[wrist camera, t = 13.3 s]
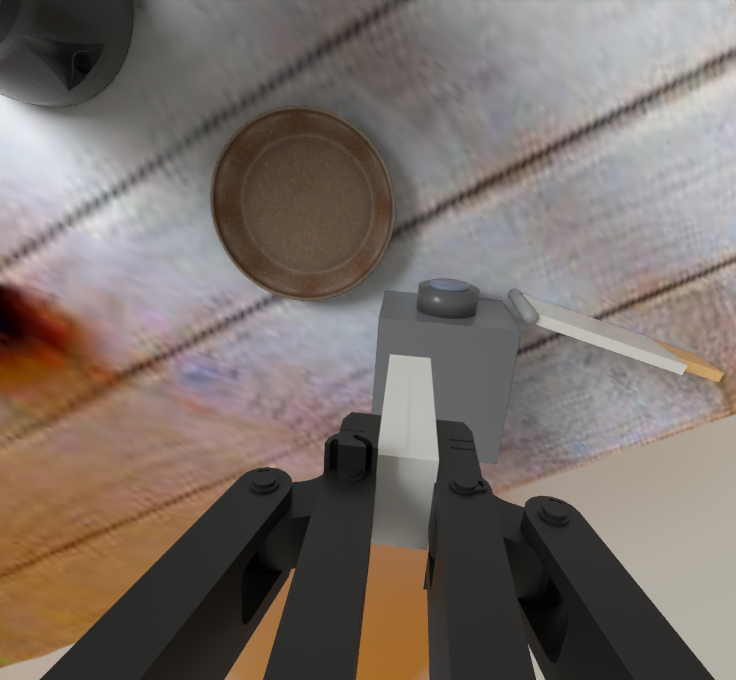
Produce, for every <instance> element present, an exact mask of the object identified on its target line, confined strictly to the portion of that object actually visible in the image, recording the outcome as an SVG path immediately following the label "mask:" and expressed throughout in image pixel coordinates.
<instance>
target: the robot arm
mask: <svg viewBox="0 0 736 680" xmlns="http://www.w3.org/2000/svg"><path fill="white" fill-rule="evenodd" d="M132 25H133V2H132V0H0V94H1V95H3V96H6V97H8V98H11V99H14V100H17V101H21V102H26V103H31V104H37V105H43V106H51V107H63V106H71V105H75V104H79V103H81V102H84V101H86V100H88V99H90V98H92V97H94V96H95V95H97V94H98V93H100V92H101V91H102V90H103V89H104V88H105V87H106V86H107V85H108V84H109V83H110V82H111V81H112V80H113V78H114V77H115V76H116V74H117V73H118V71H119V69H120V67H121V65H122V63H123V61H124V59H125V56H126V54H127V51H128V47H129V44H130V39H131V34H132ZM428 539H429V552H428V559H427V567H426V574H425V582H424V588H423V589H426V590H427V600H428V636H429V676H430V680H536V677H535V673H534V669H533V665H532V660H531V656H530V651H529V647H530V649H531V651H532V653H533V655H534V657H535V659H536V661H537V663H538V665H539V667H540V669H541V671H542V673H543V675H544V678H545V680H714V678H713V677H712V676H711V674H710V673H709V672H708V671H707V669H706V668H705V667H704V666H703V664H702V663H701V662H700V661H699V660H698V658H697V657H696V656H695V655H694V653H693V652H692V651H691V650H690V648H689V647H688V646H687V645H686V643H685V642H684V641H683V640H682V638H681V637H680V636H679V635H678V633H677V632H676V631H675V630H674V629H673V627H672V626H671V625H670V624H669V622H668V621H667V620H666V619H665V617H664V616H663V615H662V614H661V612H660V611H659V610H658V609H657V608H656V606H655V605H654V604H653V603H652V601H651V600H650V599H649V598H648V596H647V595H646V594H645V593H644V592H643V590H642V589H641V588H640V586H639V585H638V584H637V583H636V582H635V580H634V579H633V578H632V577H631V575H630V574H629V573H628V572H627V571H626V570H625V568H624V567H623V565H622V564H621V563H620V562H619V560H618V559H617V558H616V557H615V556H614V554H613V553H612V552H611V551H610V549H609V548H608V547H607V546H606V544H605V543H604V542H603V541H602V540H601V538H600V537H599V536H598V535H597V533H596V532H595V531H594V530H593V528H592V527H591V526H590V525H589V523H588V522H587V521H586V520H585V518H584V517H583V516H582V515H581V514H580V512H578V511H577V510H576V509H575V508H574V507H573V506H571V505H570V504H568V503H566V502H564V501H563V500H560V499H557V498H553V497H549V496H537V497H532V498H530V499H529V500H528V501H526V503H525V507H521V506H518V505H515V504H512V503H509V502H507V501H504V500H502V499H500V498H498V497H497V496H495V495H494V494H493V493H492V489H491V487H490V485H489V483H488V482H487V481H486V480H484V479H483V478H482V475H481V470H480V466H479V461H478V456H477V452H476V447H475V443H474V438H473V433H472V431H471V430H470V429H469V428H468V427H467V425H466V424H465V423H464V422H456V421H446V420H436V418H435V406H434V394H433V382H432V370H431V358H425V357H414V356H403V355H393V354H390V357H389V365H388V373H387V380H386V388H385V396H384V403H383V411H382V415H375V414H365V413H355V412H351V413H350V414H349V415H348V416H347V417H345V418H344V419H343V421H342V425H341V428H340V432H339V433H337V434H334V435H333V436H331V437H329V438H328V439H327V441H326V442H325V454H324V473H323V475H321V476H319V477H318V478H315V479H312V480H308V481H302V482H293V483H292V480H291V477H290V476H289V475H288V474H287V473H286V472H284V471H282V470H280V469H277V468H269V467H266V468H257V469H254V470H251V471H249V472H247V473H245V474H244V475H243V476H241V477H240V478H239V479H238V480H237V481H236V482H235V483H234V484H233V485H232V486H231V487H230V488H229V489H228V490H227V491H226V492H225V493H224V494H223V495H222V496H221V497H220V498H219V499H218V500H217V501H216V502H215V503H214V504H213V505H212V506H211V507H210V508H209V509H208V510H207V511H206V512H205V513H204V514H203V515H202V516H201V517H200V518H199V519H198V520H197V521H196V522H195V523H194V524H193V525H192V526H191V527H190V528H189V529H188V531H187V532H186V533H185V534H184V535H183V536H182V537H181V538H180V539H179V540H178V541H177V542H176V543H175V544H174V545H173V546H172V547H171V548H170V549H169V550H168V551H167V552H166V553H165V554H164V555H163V556H162V557H161V558H160V559H159V560H158V561H157V562H156V563H155V564H154V565H153V566H152V567H151V568H150V569H149V570H148V571H147V572H146V573H145V574H144V575H143V576H142V577H141V578H140V579H139V580H138V581H137V582H136V583H135V584H134V585H133V586H132V587H131V588H130V589H129V590H128V591H127V592H126V593H125V594H124V595H123V596H122V597H121V598H120V599H119V600H118V601H117V602H116V603H115V604H114V605H113V606H112V607H111V608H110V609H109V610H108V611H107V612H106V613H105V614H104V615H103V616H102V617H101V618H100V619H99V620H98V621H97V622H96V623H95V624H94V625H93V626H92V627H91V628H90V629H89V630H88V631H87V632H86V634H85V635H84V636H83V637H82V638H81V639H80V640H79V641H78V642H77V643H76V644H75V645H74V646H73V647H72V648H71V649H70V650H69V651H68V652H67V653H66V654H65V655H64V656H63V657H62V658H61V659H60V660H59V661H58V662H57V663H56V664H55V665H54V666H53V667H52V668H51V669H50V670H49V671H48V672H47V673H46V674H45V675H44V676H43V677H42V678H41V679H40V680H224V679H225V678H226V676H227V674H228V673H229V671H230V669H231V668H232V666H233V665H234V663H235V662H236V660H237V658H238V657H239V655H240V653H241V652H242V650H243V649H244V647H245V646H246V644H247V642H248V641H249V639H250V637H251V636H252V634H253V633H254V631H255V630H256V628H257V626H258V625H259V623H260V622H261V620H262V618H263V617H264V615H265V614H266V612H267V610H268V609H269V607H270V606H271V604H272V602H273V601H274V599H275V598H276V596H277V594H278V593H279V591H280V590H281V588H282V586H283V585H284V583H285V582H286V580H287V578H288V577H289V574H290V571H291V569H293V568H296V569H295V572H294V575H293V579H292V582H291V586H290V589H289V593H288V596H287V599H286V603H285V607H284V610H283V613H282V617H281V620H280V623H279V627H278V630H277V634H276V637H275V641H274V645H273V648H272V651H271V655H270V658H269V661H268V665H267V668H266V672H265V675H264V678H263V680H356V674H357V665H358V656H359V647H360V637H361V628H362V620H363V611H364V602H365V592H366V584H367V575H368V566H369V556H370V544H379V545H388V546H396V547H404V548H413V549H422V550H427V547H428ZM528 645H529V647H528Z"/></svg>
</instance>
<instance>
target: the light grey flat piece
mask: <svg viewBox="0 0 736 680" xmlns="http://www.w3.org/2000/svg"><path fill="white" fill-rule="evenodd" d="M508 298H509V299H510V301H511V302H512V304H513V305H514V306H515V308H516V309H517V311H518V312H519V314H520V315H521V316H522V318H523V319H524V321H525V322H526V323H527V324H529V325H533V324H535V325H538V326H541V327H544V328H547V329H550V330H553V331H555V332H558V333H561V334H564V335H567V336H570V337H573V338H576V339H579V340H582V341H584V342H587V343H590V344H593V345H596V346H599V347H602V348H605V349H608V350H611V351H613V352H616V353H619V354H622V355H625V356H628V357H631V358H634V359H637V360H640V361H642V362H645V363H648V364H651V365H654V366H657V367H660V368H663V369H666V370H668V371H671V372H674V373H677V374H680V375H683V373H684V371H687V372H690V373H693V374H696V375H699V376H701V377H704V378H707V379H710V380H713V381H716V382H719V380H720V379H721V377H722V376H723V374H724V373H723V372H721V371H720V370H718V369H717V368H715V367H714V366H712V365H711V364H709V363H708V362H706V361H705V360H704V359H702V358H701V357H699V356H698V355H696V354H694V353H691V352H688V351H685V350H682V349H679V348H676V347H674V346H671V345H668V344H665V343H662V342H659V341H656V340H653V339H651V338H649V337H646V336H643V335H640V334H637V333H634V332H631V331H629V330H626V329H623V328H620V327H617V326H614V325H611V324H608V323H605V322H603V321H600V320H597V319H594V318H591V317H588V316H585V315H582V314H579V313H577V312H574V311H571V310H568V309H565V308H562V307H559V306H556V305H554V304H551V303H548V302H545V301H542V300H539V299H536V298H533V297H530V296H528V295H525V294H521V293H520V292H519V291H518V290H516V289H512V290H510V291H509V293H508Z"/></svg>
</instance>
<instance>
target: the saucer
mask: <svg viewBox="0 0 736 680" xmlns="http://www.w3.org/2000/svg"><path fill="white" fill-rule="evenodd" d="M210 202H211V212H212V218H213V223H214V227H215V230H216V233H217V235H218V238H219V240H220V242H221V244H222V246H223V248H224V250H225V252H226V253H227V255H228V256H229V258H230V259H231V261H232V262H233V263H234V264H235V266H236V267H237V268H238V269H239V270H240V271H241V272H242V273H243V274H244V275H245V276H246V277H247V278H248V279H250V280H251V281H252V282H254V283H255V284H256V285H258V286H259V287H261V288H263V289H265V290H267V291H268V292H271V293H273V294H275V295H278V296H281V297H284V298H288V299H293V300H302V301H314V300H322V299H327V298H331V297H334V296H337V295H340V294H342V293H345V292H347V291H349V290H351V289H352V288H354V287H356V286H357V285H358V284H360V283H361V282H362V281H363V280H365V279H366V278H367V277H368V276H369V275H370V274H371V272H372V271H373V270H374V269H375V268H376V266H377V265H378V264H379V262H380V261H381V259H382V257H383V256H384V254H385V252H386V250H387V248H388V245H389V242H390V240H391V237H392V233H393V228H394V222H395V196H394V190H393V185H392V182H391V178H390V175H389V172H388V169H387V167H386V165H385V163H384V161H383V159H382V157H381V155H380V154H379V152H378V150H377V149H376V147H375V146H374V145H373V143H372V142H371V141H370V140H369V139H368V138H367V137H366V136H365V135H364V134H363V133H362V132H361V131H360V130H359V129H358V128H357V127H355V126H354V125H353V124H351V123H350V122H348V121H347V120H345V119H343V118H342V117H340V116H338V115H336V114H334V113H331V112H329V111H326V110H323V109H319V108H314V107H307V106H290V107H282V108H278V109H274V110H271V111H268V112H265V113H263V114H261V115H259V116H257V117H255V118H253V119H252V120H250V121H249V122H247V123H246V124H245V125H244V126H243V127H241V128H240V129H239V130H238V131H237V132H236V133H235V134H234V135H233V136H232V138H231V139H230V140H229V141H228V143H227V144H226V146H225V147H224V149H223V151H222V152H221V154H220V156H219V158H218V161H217V163H216V166H215V169H214V173H213V177H212V183H211V195H210Z"/></svg>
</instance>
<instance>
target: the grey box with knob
mask: <svg viewBox="0 0 736 680" xmlns="http://www.w3.org/2000/svg"><path fill="white" fill-rule="evenodd" d="M479 291H480V290H479V289H478V288H477V287H475V286H473V285H470V284H468V283H466V282H463V281H459V280H453V279H433V280H428V281H423V282H421V283H419V289H418V293H406V292H395V291H385V295H384V299H383V303H382V308H381V312H380V316H379V325H378V339H377V352H376V365H375V379H374V392H373V405H372V414H375V415H382V411H383V403H384V396H385V388H386V380H387V373H388V365H389V357H390V354H393V355H403V356H414V357H425V358H431V370H432V382H433V394H434V406H435V418H436V420H446V421H456V422H464V423H465V424H466V425H467V427H468V428H469V429H470V430H471V431H472V433H473V438H474V443H475V447H476V452H477V456H478V461H479V462H485V463H494V464H497V460H498V454H499V449H500V443H501V438H502V432H503V427H504V421H505V416H506V411H507V405H508V400H509V394H510V389H511V383H512V378H513V373H514V367H515V362H516V356H517V351H518V345H519V340H520V334H521V330H520V328H519V326H518V325H517V323H516V322H515V320H514V319H513V317H512V316H511V314H510V312H509V311H508V309H507V308H506V306H505V305H504V303H503V302H502V301H501V300H489V299H478V298H479Z"/></svg>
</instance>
